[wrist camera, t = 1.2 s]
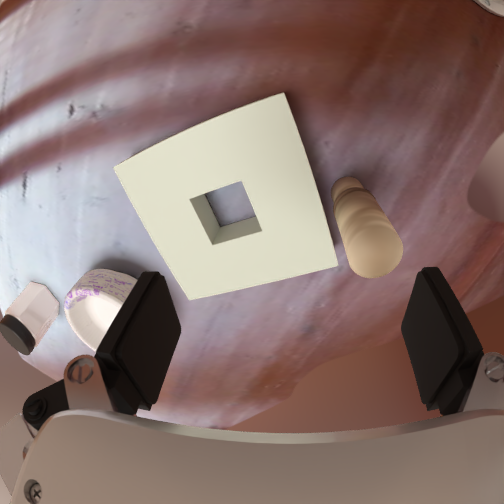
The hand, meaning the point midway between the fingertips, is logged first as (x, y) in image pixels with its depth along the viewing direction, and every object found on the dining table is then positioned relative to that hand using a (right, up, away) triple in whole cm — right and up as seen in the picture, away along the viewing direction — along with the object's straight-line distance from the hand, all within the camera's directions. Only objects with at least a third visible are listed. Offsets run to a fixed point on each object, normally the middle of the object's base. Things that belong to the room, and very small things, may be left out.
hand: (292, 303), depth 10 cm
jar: (-42, -7, +36) cm, 56 cm away
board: (-3, +8, +21) cm, 23 cm away
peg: (+9, +8, +19) cm, 23 cm away
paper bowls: (-21, -5, +32) cm, 38 cm away
